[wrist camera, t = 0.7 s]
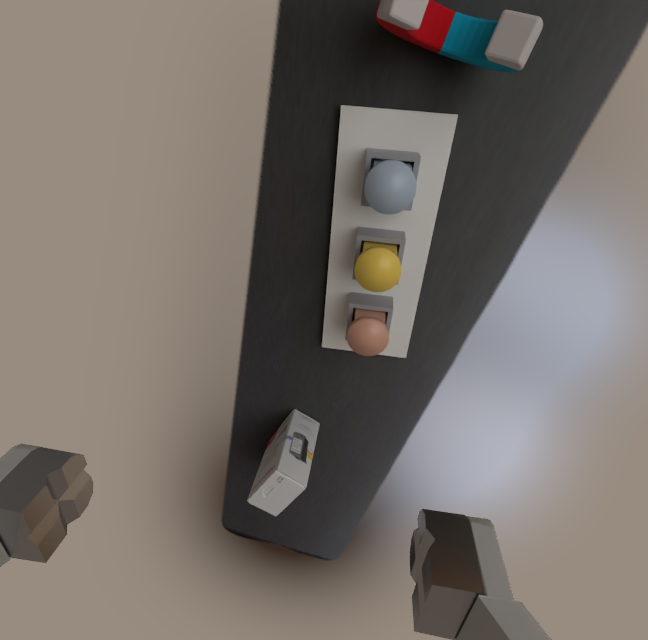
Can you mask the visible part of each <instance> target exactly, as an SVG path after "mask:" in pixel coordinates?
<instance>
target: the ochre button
mask: <svg viewBox="0 0 648 640" xmlns="http://www.w3.org/2000/svg"><path fill="white" fill-rule="evenodd" d="M400 276H401V263H400V259H399V257H398V256H397V244H391V243H382V242H373V241H364V247H363V252H362V253H361V254H360V255H359V256H358V258H357V260H356V264H355V277H356V280H357V282H358V283H359V284H360V285H361V286H362V287H363V288H364V289H366V290H368V291H371V292H384V291H387V290H389V289H391V288H392V287H394V286H395V285H396V284H397V282H398V281H399V279H400Z"/></svg>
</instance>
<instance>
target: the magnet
mask: <svg viewBox="0 0 648 640" xmlns="http://www.w3.org/2000/svg"><path fill="white" fill-rule="evenodd" d="M375 19H376V21H377V22H378V23H379V24H380V25H381V26H382V27H383V28H385V29H386V30H388V31H389V32H391V33H393V34H394V35H396V36H398V37H400V38H402V39H404V40H406V41H408V42H411V43H413V44H415V45H418V46H420V47H422V48H425V49H427V50H430V51H432V52H435V53H437V54H440V55H443V56H446V57H449V58H452V59H455V60H458V61H461V62H464V63H467V64H471V65H475V66H478V67H482V68H486V69H490V70H496V71H502V72H518V71H520V70H522V69H523V67H524V65H525V63H526V61H527V59H528V57H529V55H530V53H531V51H532V49H533V47H534V45H535V43H536V41H537V39H538V37H539V35H540V32H541V30H542V27H543V22H542V19H541V18H540V17H539V16H534V15H530V14H525V13H520V12H516V11H511V10H504V11H503V12H502V14H501V17H500V19H499V20H485V19H480V18H475V17H471V16H468V15H464V14H462V13H459V12H456V11H453V10H451V9H448V8H446V7H444V6H442V5H440V4H438V3H436V2H435V1H433V0H380V2H379V5H378V8H377V12H376V15H375Z"/></svg>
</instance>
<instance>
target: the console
mask: <svg viewBox="0 0 648 640" xmlns="http://www.w3.org/2000/svg"><path fill="white" fill-rule="evenodd" d="M457 118H458V115H457V114H445V113H433V112H421V111H409V110H397V109H385V108H372V107H360V106H348V105H341V113H340V125H339V138H338V150H337V163H336V175H335V188H334V201H333V213H332V226H331V238H330V251H329V263H328V276H327V289H326V301H325V314H324V326H323V339H322V347H325V348H333V349H341V350H348V351H353V350H352V349H351V348H350V347H349V345H348V342H347V332H348V328H349V326H350V324H351V323H352V322H353V321H354V319H355V311H356V308H359V309H367V310H376V311H384V312H385V324H386V326H387V328H388V331H389V342H388V345H387V347H386V348H385V350H383V351H382V352H381V353H379V355H387V356H394V357H402V358H406V355H407V350H408V346H409V341H410V336H411V332H412V327H413V322H414V318H415V313H416V308H417V304H418V299H419V294H420V290H421V285H422V280H423V276H424V271H425V266H426V262H427V257H428V252H429V248H430V243H431V239H432V234H433V229H434V225H435V220H436V215H437V211H438V206H439V201H440V197H441V192H442V187H443V183H444V178H445V173H446V169H447V164H448V159H449V155H450V150H451V145H452V141H453V136H454V132H455V127H456V122H457ZM374 159H377V160H389V159H394V160H399V161H402V162H410V164H411V167H412V171H413V173H414V176H415V179H416V184H417V188H416V194H415V197H414V199H413V201H412V202H411V204H410V205H409V206H408V207H407V208H406V209H404V210H403V211H401V212H399V213H396V214H382V213H379V212H377V211H375V210H374V209H373V208H372V207H371V206H370V205H369V204H368V202H367V200H366V197H365V193H364V185H365V180H366V177H367V175H368V173H369V171H370V170H371V169H372V168H373V167H374ZM364 241H373V242H382V243H391V244H397V256H398V257H399V259H400V263H401V276H400V279H399V281H398V282H397V284H396V285H395V286H394V287H392V288H391V289H389V290H387V291H384V292H371V291H368V290H366V289H364V288H363V287H362V286H361V285H360V284H359V283H358V282H357V280H356V277H355V264H356V260H357V258H358V256H359V255H360V254H361V253H362V252H363V247H364Z"/></svg>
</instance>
